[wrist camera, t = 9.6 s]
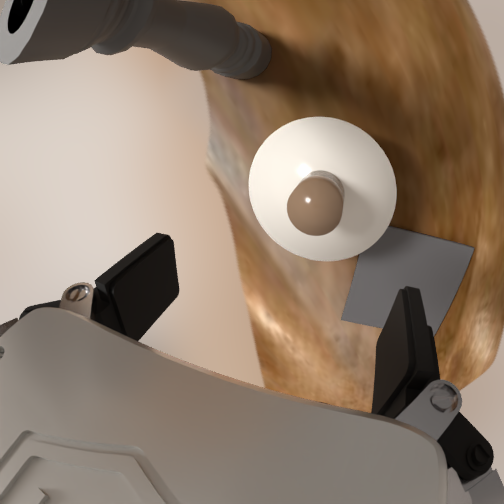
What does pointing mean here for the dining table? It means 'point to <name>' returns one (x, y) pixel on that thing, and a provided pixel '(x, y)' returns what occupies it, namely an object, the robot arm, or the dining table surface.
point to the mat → (406, 276)
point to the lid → (322, 188)
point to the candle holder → (133, 33)
